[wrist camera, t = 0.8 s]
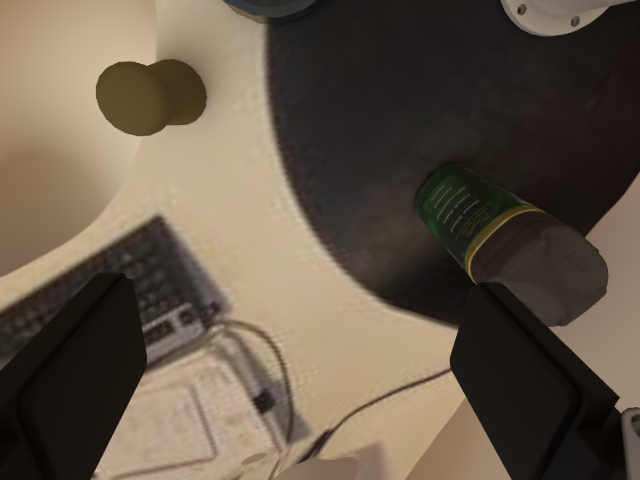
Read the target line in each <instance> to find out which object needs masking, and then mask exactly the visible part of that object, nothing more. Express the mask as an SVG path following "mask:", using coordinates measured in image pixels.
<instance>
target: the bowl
mask: <svg viewBox="0 0 640 480" xmlns="http://www.w3.org/2000/svg"><path fill="white" fill-rule="evenodd" d="M222 1H223V2H225V3H226V4H227V5H228V6H229V7H230V8H231V9H232V10H233V11H235V12H236V13H237V14H239V15H241V16H244V17H246V18H248V19H250V20H252V21H255V22H257V23H260V24H273V25H284V24H287V23H290V22H294V21H297V20H300V19H303V18H304V17H306V16H307V15H308V14H310V13H311V12H312V11H314V10H315V9H316V8H318V7H319V6H320V5H321V4H322V3H323V2H324V1H325V0H222Z"/></svg>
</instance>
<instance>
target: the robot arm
mask: <svg viewBox="0 0 640 480" xmlns="http://www.w3.org/2000/svg"><path fill="white" fill-rule="evenodd" d="M500 1H501V3H502V5H503V8H504V10H505V12H506V13H507V15H508V16H509V18H510V19H511V21H512V22H513V23H515V24H516V25H517V26H518V27H519V28H520V29H522V30H524V31H526V32H528V33H530V34H534V35H538V36H556V35H562V34H567V33H570V32H573V31H576V30H578V29H580V28H582V27H584V26H585V25H587V24H589V23H591V22H592V21H593V20H595V19H596V18H597V17H598V16H600V15H601V14H602V13H603V12H604V11H605V10H606V9H607V8H608V7H609V6H612V5H617V4H621V3H626V2H630V1H635V0H500ZM518 9H519V12H517V11H518ZM146 365H147V354H146V348H145V342H144V337H143V331H142V326H141V320H140V315H139V309H138V303H137V298H136V292H135V287H134V282H133V280H132V279H127V277H126V275H125V274H123V273H98V274H96V275H95V276H94V277H93V278H92V279H91V280H90V281H89V282H88V283H87V284H86V285H85V286H84V287H83V288H82V289H81V290H80V291H79V292H78V293H77V294H76V295H75V296H74V297H73V298H72V299H71V300H70V301H69V302H68V303H67V304H66V305H65V306H64V307H63V308H62V309H61V310H60V311H59V312H58V313H57V314H56V315H55V316H54V317H53V318H52V319H51V320H50V321H49V322H48V323H47V324H46V325H45V326H44V327H43V328H42V329H41V330H40V331H39V332H38V333H37V334H36V335H35V336H34V337H33V338H32V339H31V340H30V341H29V342H28V343H27V345H26V346H25V347H24V348H23V349H22V350H21V351H20V352H19V353H18V354H17V355H16V356H15V357H14V358H13V359H12V360H11V361H10V362H9V363H8V364H7V365H6V366H5V367H4V368H3V369H2V370H1V371H0V480H90V479H91V477H92V475H93V473H94V471H95V469H96V467H97V465H98V463H99V461H100V459H101V457H102V455H103V453H104V451H105V449H106V447H107V445H108V443H109V441H110V439H111V437H112V435H113V433H114V431H115V429H116V427H117V425H118V423H119V421H120V419H121V417H122V415H123V413H124V411H125V410H126V408H127V406H128V404H129V402H130V400H131V398H132V396H133V394H134V392H135V390H136V388H137V386H138V384H139V382H140V380H141V378H142V376H143V374H144V371H145V369H146ZM450 367H451V370H452V372H453V374H454V375H455V377H456V379H457V381H458V383H459V385H460V386H461V388H462V390H463V392H464V394H465V396H466V397H467V399H468V401H469V403H470V405H471V406H472V408H473V410H474V412H475V414H476V415H477V417H478V419H479V421H480V423H481V424H482V426H483V428H484V430H485V432H486V434H487V436H488V437H489V439H490V441H491V443H492V445H493V446H494V448H495V450H496V452H497V454H498V456H499V457H500V459H501V461H502V463H503V465H504V467H505V468H506V470H507V472H508V474H509V476H510V477H511V479H512V480H640V408H638V407H634V408H627V409H626V410H625V411H623V412H622V414H621V413H620V412H619V411H618V410H617V409H616V408H615V407H614V406H615V404H616V403H617V401H618V400H619V398H620V397H619V396H618V395H617V394H616V393H615V392H614V391H613V390H612V389H611V388H610V387H609V386H608V385H607V384H606V383H605V382H604V381H603V380H602V379H600V378H599V377H598V376H597V375H596V374H595V373H594V372H593V371H592V370H591V369H590V368H589V367H588V366H587V365H586V364H585V363H584V362H583V361H582V360H581V359H580V358H579V357H578V356H577V355H576V354H575V353H574V352H573V351H572V350H571V349H570V348H569V347H568V346H567V345H565V344H564V343H563V342H562V341H561V340H560V339H559V338H558V337H557V336H556V335H555V334H554V333H553V332H552V331H551V330H550V329H549V328H548V327H547V326H546V325H545V324H544V323H543V322H542V321H541V320H540V319H539V318H538V317H537V316H536V315H535V314H534V313H533V312H532V311H530V310H529V309H528V308H527V307H526V306H525V305H524V304H523V303H522V302H521V301H520V300H519V299H518V298H517V297H516V296H515V295H514V294H513V293H512V292H511V291H510V290H509V289H508V288H507V287H506V286H505V285H504V284H502V283H500V282H479V283H478V284H477V285H476V287H473V288H472V289H471V290H470V293H469V297H468V300H467V303H466V306H465V310H464V313H463V316H462V319H461V323H460V326H459V329H458V333H457V336H456V339H455V342H454V346H453V349H452V352H451V356H450Z"/></svg>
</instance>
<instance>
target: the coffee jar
mask: <svg viewBox="0 0 640 480" xmlns="http://www.w3.org/2000/svg"><path fill="white" fill-rule="evenodd" d="M415 209H416V212H417V213H418V215H419V216H420V217H421V219H422V220H423V221H424V222H425V224H426V225H427V226H428V227H429V228H430V229H431V231H432V232H433V233H434V234H435V235H436V236H437V238H438V239H439V240H440V241H441V242H442V244H443V245H444V246H445V247H446V249H447V250H448V251H449V252H450V253H451V254H452V256H453V257H454V258H455V259H456V260H457V262H458V263H459V264H460V265H461V266H462V268H463V269H464V270H465V271H466V272H467V274H468V275H469V276H470V277H471V279H472V280H473V281H474V282H475V284H476V285H477V284H478V283H479V282H500V283H502V284H504V285H505V286H506V287H507V288H508V289H509V290H510V291H511V292H512V293H513V294H514V295H515V296H516V297H517V298H518V299H519V300H520V301H521V302H522V303H523V304H524V305H525V306H526V307H527V308H528V309H529V310H530V311H532V312H533V313H534V314H535V315H536V316H537V317H538V318H539V319H540V320H541V321H542V322H543V323H544V324H545V325H546V326H547V327H554V326H566V325H568V324H569V323H570V322H572V321H573V320H574V319H576V318H577V317H579V316H580V315H582V314H583V313H584V312H586V311H587V310H588V309H589V308H591V307H592V306H593V305H594V304H595V303H597V302H598V301H599V300H600V299H601V298H602V297H603V296H604V295H605V294H606V292H607V291H606V287H607V283H608V268H607V265H606V262H605V260H604V259H603V257H602V256H601V255H600V254H599V250H598V249H596V248H595V247H594V246H593V245H592V244H591V243H590V242H589V241H587V240H586V239H585V238H584V237H583V236H582V235H581V234H580V233H579V232H577V231H576V230H575V229H574V228H573V227H572V226H569V225H565V224H564V223H562V222H561V221H559V220H558V219H556V218H554V217H553V216H551V215H550V214H547V213H546V212H544V211H542V210H540V209H538V208H537V207H535V206H533V205H531V204H529V203H528V202H526V201H524V200H522V199H521V198H519V197H517V196H516V195H514V194H512V193H510V192H509V191H507V190H505V189H503V188H502V187H500V186H498V185H496V184H495V183H493V182H491V181H489V180H488V179H486V178H485V177H483V176H481V175H480V174H478V173H476V172H475V171H473V170H471V169H469V168H468V167H466V166H464V165H462V164H457V163H453V164H448V165H445V166H443V167H441V168H440V169H438V170H437V171H436V172H435V173H434V174H433V175H432V176H431V177H430V178H429V179H428V180H427V181H426V182H425V183H424V185H423V186H422V187H421V189H420V190H419V192H418V194H417V196H416V199H415Z"/></svg>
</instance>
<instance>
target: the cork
mask: <svg viewBox="0 0 640 480" xmlns="http://www.w3.org/2000/svg"><path fill="white" fill-rule="evenodd" d="M206 98H207V96H206V91H205V86H204V84H203V82H202V80H201V78H200V76H199V75H198V74H197V73H196V72H195V71H194V70H193V68H191V67H190V66H188V65H187V64H185V63H183V62H180V61H177V60H162V61H159V62H156V63H154V64H151V65H148V66H146V65H143V64H140V63H136V62H118V63H116V64H114V65H112V66H109V67H108V68H106V69H105V71H104V72H103V73H102V74H101V75H100V76H99V79H98V82H97V85H96V99H97V102H98V105H99V108H100V110H101V111H102V113H103V115H104V116H105V118H106V119H107V120H108V121H109V122H110V123H111V124H112V125H113V126H114V127H115V128H117V129H119V130H121V131H123V132H124V133H128V134H132V135H135V136H150V135H152V134H155V133H157V132H159V131H161V130H162V129H163V128H164V127H165V126H166V125H187V124H190V123H192V122H194V121H196V120H197V119H198V118H199V117H200V116H201V115H202V113H203V111H204V109H205V106H206Z"/></svg>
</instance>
